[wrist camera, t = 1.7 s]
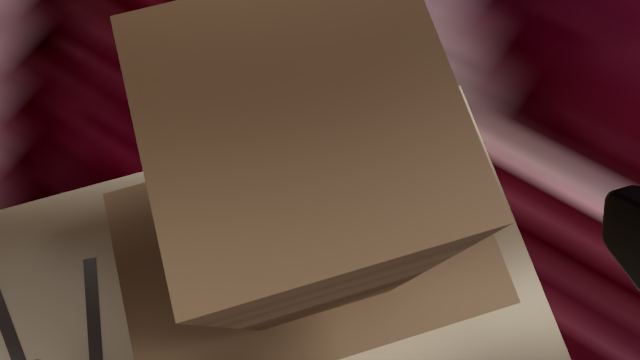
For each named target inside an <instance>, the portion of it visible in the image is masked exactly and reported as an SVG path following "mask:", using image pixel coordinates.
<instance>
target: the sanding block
mask: <svg viewBox="0 0 640 360" xmlns="http://www.w3.org/2000/svg"><path fill="white" fill-rule="evenodd" d="M110 19H111V23H112V28H113V33H114V37H115V42H116V47H117V52H118V56H119V61H120V66H121V70H122V75H123V80H124V84H125V89H126V94H127V98H128V103H129V108H130V112H131V117H132V122H133V126H134V131H135V136H136V140H137V145H138V150H139V154H140V159H141V164H142V168H143V173H144V178H145V183H141V184H137V185H134V186H130V187H126V188H123V189H119V190H115V191H111V192H108V193H104V194H103V199H104V204H105V209H106V215H107V220H108V225H109V230H110V236H111V241H112V246H113V251H114V257H115V262H116V267H117V273H118V278H119V283H120V288H121V294H122V299H123V304H124V309H125V315H126V320H127V325H128V331H129V336H130V341H131V346H132V352H133V357H134V360H339V359H343V358H346V357H349V356H352V355H355V354H359V353H362V352H365V351H368V350H371V349H375V348H378V347H381V346H384V345H387V344H390V343H394V342H397V341H400V340H403V339H406V338H410V337H413V336H416V335H419V334H422V333H426V332H429V331H432V330H435V329H438V328H441V327H445V326H448V325H451V324H454V323H457V322H461V321H464V320H467V319H470V318H473V317H476V316H480V315H483V314H486V313H489V312H492V311H496V310H499V309H502V308H505V307H508V306H512V305H515V304H518V303H521V302H520V300H519V297H518V295H517V292H516V289H515V287H514V284H513V282H512V279H511V277H510V274H509V271H508V269H507V266H506V264H505V261H504V259H503V256H502V253H501V251H500V248H499V246H498V243H497V241H496V238H495V236H494V234H495V233H496V232H498V231H500V230H502V229H504V228H505V227H507V226H509V225H511V224H513V221H512V218H511V216H510V213H509V211H508V208H507V206H506V203H505V201H504V198H503V196H502V193H501V191H500V188H499V186H498V183H497V181H496V178H495V176H494V173H493V171H492V168H491V166H490V163H489V161H488V158H487V156H486V153H485V151H484V148H483V146H482V144H481V141H480V139H479V136H478V134H477V131H476V129H475V126H474V124H473V121H472V119H471V116H470V114H469V111H468V109H467V106H466V104H465V101H464V99H463V96H462V94H461V91H460V89H459V86H458V84H457V81H456V79H455V76H454V74H453V71H452V69H451V66H450V64H449V61H448V59H447V57H446V54H445V52H444V49H443V47H442V44H441V42H440V39H439V37H438V34H437V32H436V29H435V27H434V24H433V22H432V19H431V17H430V14H429V12H428V9H427V7H426V4H425V2H424V0H176V1H172V2H168V3H164V4H160V5H155V6H151V7H147V8H143V9H139V10H135V11H130V12H126V13H122V14H118V15H114V16H110Z"/></svg>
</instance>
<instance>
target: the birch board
mask: <svg viewBox="0 0 640 360" xmlns="http://www.w3.org/2000/svg"><path fill="white" fill-rule="evenodd" d="M459 89H460V91H461V94H462V96H463V99H464V101H465V104H466V106H467V109H468V111H469V114H470V116H471V119H472V121H473V124H474V126H475V129H476V131H477V134H478V136H479V139H480V141H481V144H482V146H483V148H484V151H485V153H486V156H487V158H488V161H489V163H490V166H491V168H492V171H493V173H494V176H495V178H496V181H497V183H498V186H499V188H500V191H501V193H502V196H503V198H504V201H505V203H506V206H507V208H508V211H509V213H510V216H511V218H512V221H513V224H511V225H509V226H507V227H505V228H504V229H502V230H500V231H498V232H496V233H495V234H494V236H495V238H496V241H497V243H498V246H499V248H500V251H501V253H502V256H503V259H504V261H505V264H506V266H507V269H508V271H509V274H510V277H511V279H512V282H513V284H514V287H515V289H516V292H517V295H518V297H519V300H520V302H521V303H518V304H515V305H512V306H508V307H505V308H502V309H499V310H496V311H492V312H489V313H486V314H483V315H480V316H476V317H473V318H470V319H467V320H464V321H461V322H457V323H454V324H451V325H448V326H445V327H441V328H438V329H435V330H432V331H429V332H426V333H422V334H419V335H416V336H413V337H410V338H406V339H403V340H400V341H397V342H394V343H390V344H387V345H384V346H381V347H378V348H375V349H371V350H368V351H365V352H362V353H359V354H355V355H352V356H349V357H346V358H343V359H339V360H571V358H570V356H569V353H568V351H567V348H566V346H565V343H564V341H563V338H562V336H561V333H560V331H559V328H558V326H557V323H556V321H555V318H554V316H553V314H552V311H551V309H550V306H549V304H548V301H547V299H546V296H545V294H544V291H543V289H542V286H541V284H540V281H539V279H538V276H537V274H536V271H535V269H534V266H533V264H532V261H531V259H530V257H529V254H528V252H527V249H526V247H525V244H524V242H523V239H522V237H521V234H520V232H519V229H518V227H517V224H516V222H515V219H514V217H513V214H512V212H511V209H510V207H509V204H508V202H507V199H506V197H505V195H504V192H503V190H502V187H501V185H500V182H499V180H498V177H497V175H496V172H495V170H494V167H493V165H492V162H491V160H490V157H489V155H488V152H487V150H486V147H485V145H484V142H483V140H482V138H481V135H480V133H479V130H478V128H477V125H476V123H475V120H474V118H473V115H472V113H471V110H470V108H469V105H468V103H467V100H466V98H465V95H464V93H463V90H462V88H461V86H459ZM141 183H145V178H144V173H143V172H139V173H135V174H132V175H128V176H124V177H120V178H117V179H113V180H109V181H106V182H102V183H98V184H95V185H91V186H87V187H83V188H80V189H76V190H72V191H69V192H65V193H61V194H57V195H54V196H50V197H46V198H43V199H39V200H35V201H32V202H28V203H24V204H20V205H17V206H13V207H9V208H6V209H2V210H0V360H36V359H38V360H134V357H133V352H132V346H131V341H130V336H129V331H128V325H127V320H126V315H125V309H124V304H123V299H122V294H121V288H120V283H119V278H118V273H117V267H116V262H115V257H114V251H113V246H112V241H111V236H110V230H109V225H108V220H107V215H106V209H105V204H104V199H103V194H104V193H108V192H111V191H115V190H119V189H123V188H126V187H130V186H134V185H137V184H141Z"/></svg>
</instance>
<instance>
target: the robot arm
mask: <svg viewBox="0 0 640 360" xmlns="http://www.w3.org/2000/svg"><path fill="white" fill-rule="evenodd" d="M602 237H603V241H604V243H605V245H606V247H607V248H608V250H609V251H610V253H611V254H612V255H613V257H614V258H615V259H616V261H617V262H618V263H619V265H620V266H621V267H622V269H623V270H624V271H625V273H626V274H627V275H628V276H629V278H630V279H631V280H632V282H633V283H634V284H635V286H636V287H637V288H638V290H639V291H640V186H636V185H631V186H627V187H623V188H620V189H616V190H613V191H611V192H609V193H608V194H607V196H606V198H605V204H604V215H603V225H602ZM36 360H38V359H36Z"/></svg>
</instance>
